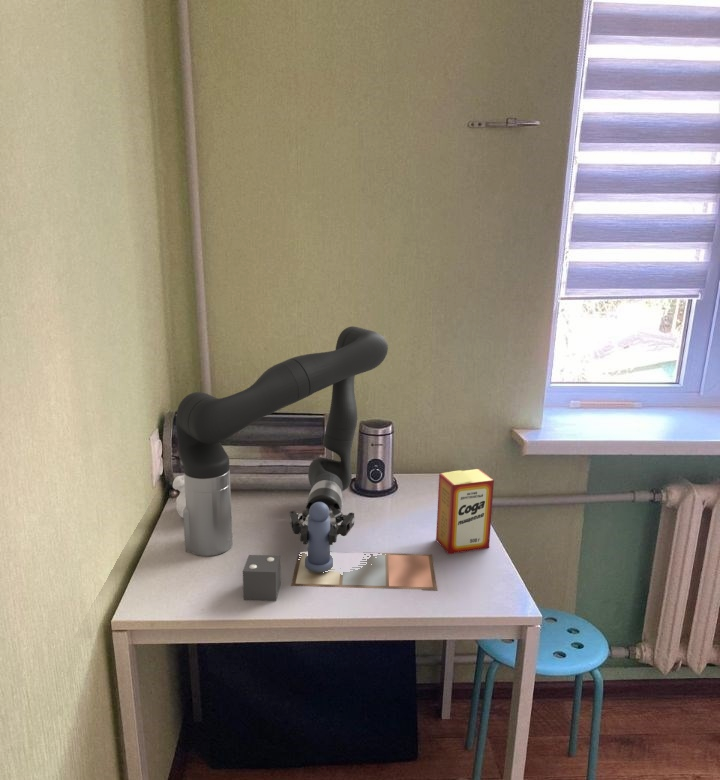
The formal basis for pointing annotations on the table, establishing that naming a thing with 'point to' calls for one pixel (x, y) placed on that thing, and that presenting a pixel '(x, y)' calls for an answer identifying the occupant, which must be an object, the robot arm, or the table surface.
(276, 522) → the table surface
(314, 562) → the pawn
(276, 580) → the die
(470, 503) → the baking soda box
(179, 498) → the duck figurine
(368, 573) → the game board
